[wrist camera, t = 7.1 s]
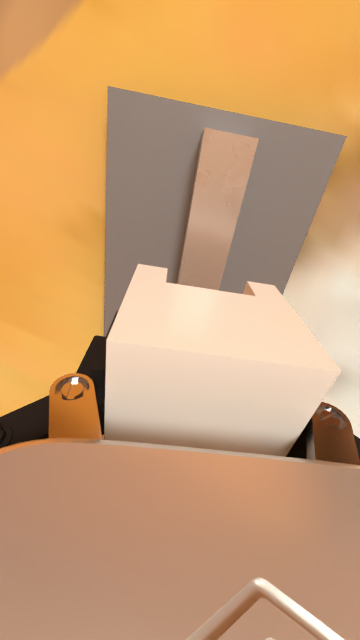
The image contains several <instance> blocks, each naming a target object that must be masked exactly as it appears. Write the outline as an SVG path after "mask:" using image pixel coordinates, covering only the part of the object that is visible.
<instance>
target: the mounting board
mask: <svg viewBox="0 0 360 640" xmlns="http://www.w3.org/2000/svg"><path fill="white" fill-rule="evenodd" d="M204 128H210V129H215V130H220V131H225V132H229V133H234V134H239V135H244V136H249V137H254V138H259V140H258V144H257V148H256V152H255V155H254V159H253V163H252V167H251V171H250V174H249V178H248V182H247V186H246V189H245V193H244V197H243V201H242V205H241V208H240V212H239V216H238V220H237V224H236V227H235V231H234V235H233V239H232V242H231V246H230V250H229V254H228V258H227V261H226V265H225V269H224V273H223V277H222V280H221V284H220V288H219V291H225V292H232V293H238V294H243V292H244V289H245V286H246V283H247V281H250V282H256V283H262V284H269V285H275V287H276V288H277V289H278V291H279V292H280V293H281V294H283V292H284V289H285V287H286V284H287V282H288V279H289V277H290V274H291V272H292V270H293V267H294V265H295V262H296V260H297V257H298V255H299V252H300V250H301V247H302V245H303V242H304V240H305V238H306V235H307V233H308V230H309V228H310V225H311V223H312V220H313V218H314V215H315V213H316V210H317V208H318V206H319V203H320V201H321V198H322V196H323V193H324V191H325V188H326V186H327V183H328V181H329V178H330V176H331V174H332V171H333V169H334V166H335V164H336V161H337V159H338V156H339V154H340V151H341V149H342V147H343V144H344V142H345V139H346V137H347V136H343V135H338V134H333V133H329V132H324V131H319V130H314V129H310V128H305V127H300V126H295V125H291V124H286V123H281V122H276V121H272V120H267V119H262V118H257V117H253V116H248V115H243V114H238V113H234V112H229V111H224V110H219V109H215V108H210V107H205V106H200V105H196V104H191V103H186V102H181V101H177V100H172V99H167V98H162V97H158V96H153V95H148V94H143V93H139V92H134V91H129V90H124V89H120V88H115V87H110V86H108V105H107V171H106V237H105V303H104V337H106V335H107V333H108V330H109V328H110V326H111V323H112V321H113V318H114V316H115V314H116V312H117V311H119V309H120V306H121V304H122V302H123V299H124V297H125V294H126V292H127V289H128V287H129V285H130V282H131V280H132V277H133V275H134V273H135V270H136V268H137V265H138V264H143V265H149V266H156V267H162V268H168V269H167V278H166V282H167V283H173V284H177V278H178V272H179V266H180V260H181V254H182V248H183V242H184V237H185V231H186V225H187V219H188V213H189V207H190V201H191V195H192V189H193V183H194V178H195V172H196V166H197V160H198V154H199V148H200V142H201V136H202V131H203V130H204Z"/></svg>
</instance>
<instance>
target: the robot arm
mask: <svg viewBox="0 0 360 640" xmlns="http://www.w3.org/2000/svg"><path fill="white" fill-rule="evenodd" d="M117 314H118V311H117V312H116V314H115V316H114V318H113V321H112V323H111V326H110V328H109V330H108V333H107V335H106V337H103V336H94V338H93V340H92V342H91V344H90V346H89V348H88V350H87V352H86V354H85V356H84V358H83V360H82V362H81V364H80V366H79V368H78V370H77V372H76V373H72V374H67V375H64V376H62V377H60V378H58V379H57V380H56V381H54V382H53V384H52V385H51V387H50V393H49V396H46V397H44V398H42V399H40V400H37V401H35V402H33V403H31V404H29V405H26V406H24V407H22V408H20V409H17V410H15V411H13V412H11V413H8V414H6V415H4V416H2V417H0V640H360V439H359V438H358V437H356V436H355V435H353V430H352V426H351V423H350V421H349V419H348V418H347V416H346V415H345V414H344V413H343V412H342V411H340V410H339V409H338V408H336V407H334V406H332V405H330V404H328V403H324V402H321V403H320V405H319V406H318V408H317V409H316V411H315V413H314V414H313V416H312V417H311V419H310V420H309V422H308V423H307V425H306V426H305V428H304V429H303V431H302V432H301V434H300V436H299V437H298V439H297V440H296V442H295V443H294V445H293V446H292V448H291V449H290V451H289V452H288V454H287V456H286V457H282V456H273V455H263V454H253V453H243V452H233V451H222V450H212V449H202V448H192V447H181V446H170V445H159V444H148V443H137V442H126V441H113V440H103V439H102V435H103V434H104V420H105V378H106V340H107V338H108V335H109V333H110V331H111V328H112V326H113V323H114V321H115V318H116V316H117Z"/></svg>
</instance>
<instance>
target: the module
mask: <svg viewBox="0 0 360 640" xmlns="http://www.w3.org/2000/svg"><path fill="white" fill-rule="evenodd" d="M167 269H168V268H162V267H156V266H149V265H143V264H138V265H137V268H136V270H135V273H134V275H133V277H132V280H131V282H130V285H129V287H128V289H127V292H126V294H125V297H124V299H123V302H122V304H121V306H120V309H119V311H118V314H117V316H116V318H115V321H114V323H113V326H112V328H111V331H110V333H109V335H108V338H107V340H106V378H105V420H104V440H113V441H126V442H137V443H148V444H159V445H170V446H181V447H192V448H202V449H212V450H222V451H233V452H243V453H253V454H263V455H273V456H282V457H286V456H287V454H288V452H289V451H290V449H291V448H292V446H293V445H294V443H295V442H296V440H297V439H298V437H299V436H300V434H301V432H302V431H303V429H304V428H305V426H306V425H307V423H308V422H309V420H310V419H311V417H312V416H313V414H314V413H315V411H316V409H317V408H318V406H319V405H320V403H321V402H322V400H323V399H324V397H325V396H326V394H327V393H328V391H329V390H330V388H331V386H332V385H333V383H334V382H335V380H336V379H337V377H338V376H339V374H340V373H341V371H340V369H339V368H338V367H337V365H336V364H335V363H334V362H333V360H332V359H331V358H330V356H329V355H328V354H327V352H326V351H325V350H324V349H323V347H322V346H321V345H320V343H319V342H318V341H317V340H316V338H315V337H314V336H313V334H312V333H311V332H310V331H309V329H308V328H307V327H306V325H305V324H304V323H303V322H302V320H301V319H300V318H299V316H298V315H297V314H296V312H295V311H294V310H293V309H292V307H291V306H290V305H289V303H288V302H287V301H286V300H285V298H284V297H283V296H282V294H281V293H280V292H279V291H278V289H277V288H276V287H275V285H269V284H262V283H256V282H250V281H247V283H246V286H245V289H244V292H243V294H238V293H232V292H225V291H219V290H212V289H206V288H199V287H193V286H186V285H180V284H173V283H167V282H166V278H167Z"/></svg>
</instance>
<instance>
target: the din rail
mask: <svg viewBox="0 0 360 640" xmlns="http://www.w3.org/2000/svg"><path fill="white" fill-rule="evenodd" d="M258 140H259V138H254V137H249V136H244V135H239V134H234V133H229V132H225V131H220V130H215V129H210V128H204V130H203V131H202V136H201V142H200V148H199V154H198V160H197V166H196V172H195V178H194V183H193V189H192V195H191V201H190V207H189V213H188V219H187V225H186V231H185V237H184V242H183V248H182V254H181V260H180V266H179V272H178V278H177V284H180V285H186V286H193V287H199V288H206V289H212V290H219V288H220V284H221V280H222V277H223V273H224V269H225V265H226V261H227V258H228V254H229V250H230V246H231V242H232V239H233V235H234V231H235V227H236V224H237V220H238V216H239V212H240V208H241V205H242V201H243V197H244V193H245V189H246V186H247V182H248V178H249V174H250V171H251V167H252V163H253V159H254V155H255V152H256V148H257V144H258Z"/></svg>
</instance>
